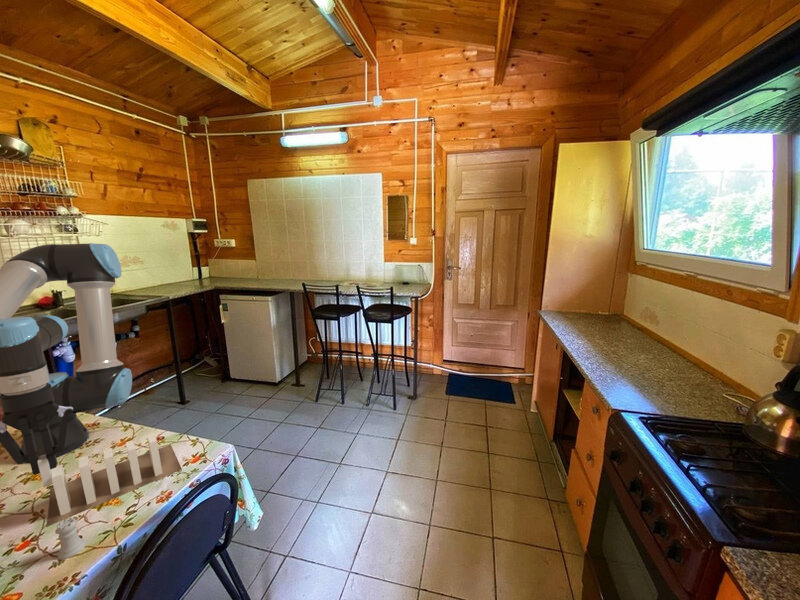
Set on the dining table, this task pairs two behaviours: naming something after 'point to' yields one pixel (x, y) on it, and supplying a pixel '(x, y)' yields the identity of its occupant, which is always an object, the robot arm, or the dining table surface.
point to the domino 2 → (87, 480)
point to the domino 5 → (154, 454)
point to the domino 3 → (111, 470)
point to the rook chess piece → (69, 539)
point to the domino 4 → (133, 462)
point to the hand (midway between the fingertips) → (48, 482)
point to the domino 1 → (61, 489)
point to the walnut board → (103, 487)
